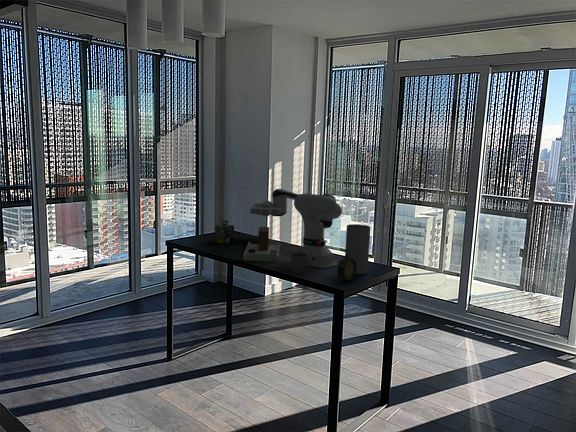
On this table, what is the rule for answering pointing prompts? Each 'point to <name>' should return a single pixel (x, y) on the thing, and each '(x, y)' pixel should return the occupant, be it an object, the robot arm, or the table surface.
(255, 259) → the box
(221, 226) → the chalk box
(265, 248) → the walnut block
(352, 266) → the alarm clock
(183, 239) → the table surface
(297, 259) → the mug
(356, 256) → the cylinder vase
